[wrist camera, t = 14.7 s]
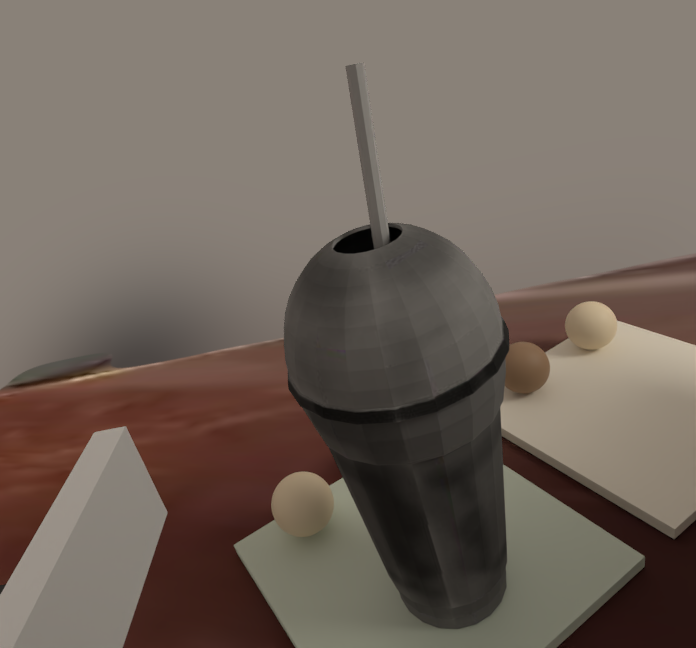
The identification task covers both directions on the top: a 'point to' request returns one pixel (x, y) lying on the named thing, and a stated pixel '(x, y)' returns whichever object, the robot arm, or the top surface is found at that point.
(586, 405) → the cream card
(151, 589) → the top surface
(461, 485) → the beverage cup
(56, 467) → the top surface
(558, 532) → the sage card
